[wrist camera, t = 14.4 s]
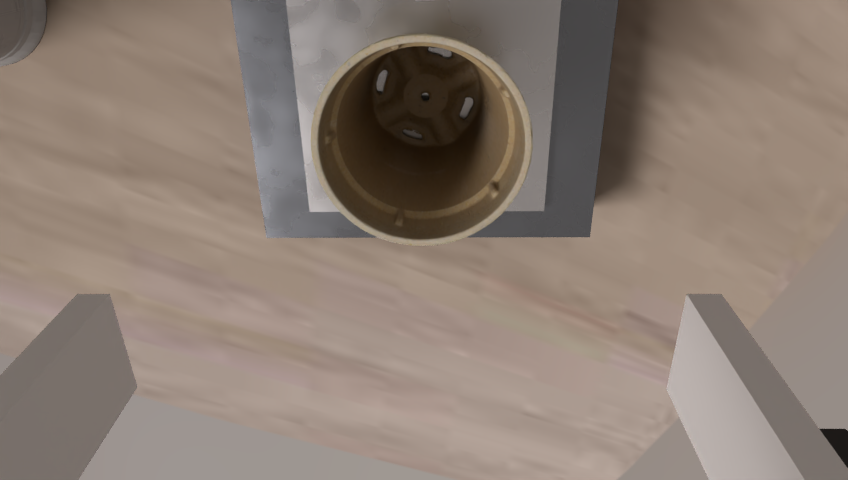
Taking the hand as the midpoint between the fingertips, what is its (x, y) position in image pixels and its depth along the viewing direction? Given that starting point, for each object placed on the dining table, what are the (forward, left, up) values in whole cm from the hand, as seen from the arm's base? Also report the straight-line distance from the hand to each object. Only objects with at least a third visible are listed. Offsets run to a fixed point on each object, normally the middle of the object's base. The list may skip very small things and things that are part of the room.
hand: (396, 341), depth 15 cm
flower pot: (0, 0, -22) cm, 22 cm away
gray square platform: (0, 0, -26) cm, 27 cm away
